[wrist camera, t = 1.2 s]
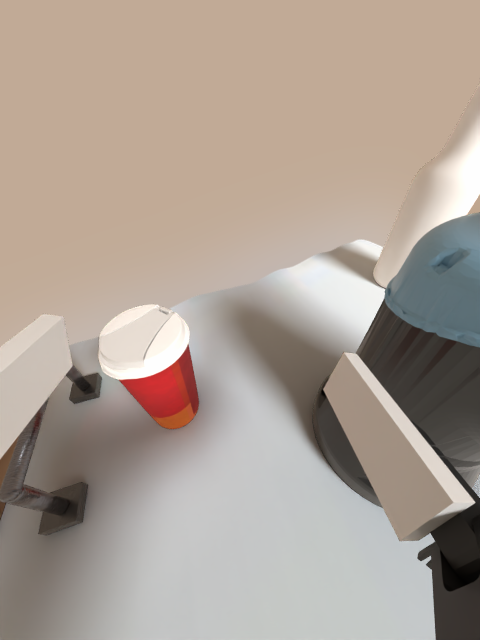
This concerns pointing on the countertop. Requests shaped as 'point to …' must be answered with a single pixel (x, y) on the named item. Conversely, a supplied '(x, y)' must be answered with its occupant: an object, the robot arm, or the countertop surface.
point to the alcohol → (436, 192)
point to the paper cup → (152, 362)
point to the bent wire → (57, 505)
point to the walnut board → (5, 468)
